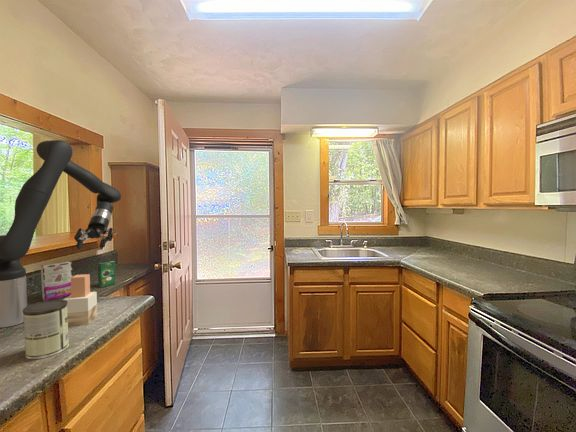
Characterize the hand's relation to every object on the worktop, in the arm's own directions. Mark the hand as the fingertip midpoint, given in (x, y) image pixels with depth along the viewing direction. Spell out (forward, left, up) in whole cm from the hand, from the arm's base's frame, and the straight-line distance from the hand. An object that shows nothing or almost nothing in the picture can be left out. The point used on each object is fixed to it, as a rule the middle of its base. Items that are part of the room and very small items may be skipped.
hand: (89, 247), depth 122 cm
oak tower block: (-7, -16, -26) cm, 31 cm away
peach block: (-7, -16, -16) cm, 23 cm away
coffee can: (-20, -34, -26) cm, 48 cm away
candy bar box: (-7, +27, -26) cm, 38 cm away
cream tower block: (-8, -16, -21) cm, 27 cm away
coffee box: (+15, +31, -26) cm, 43 cm away
